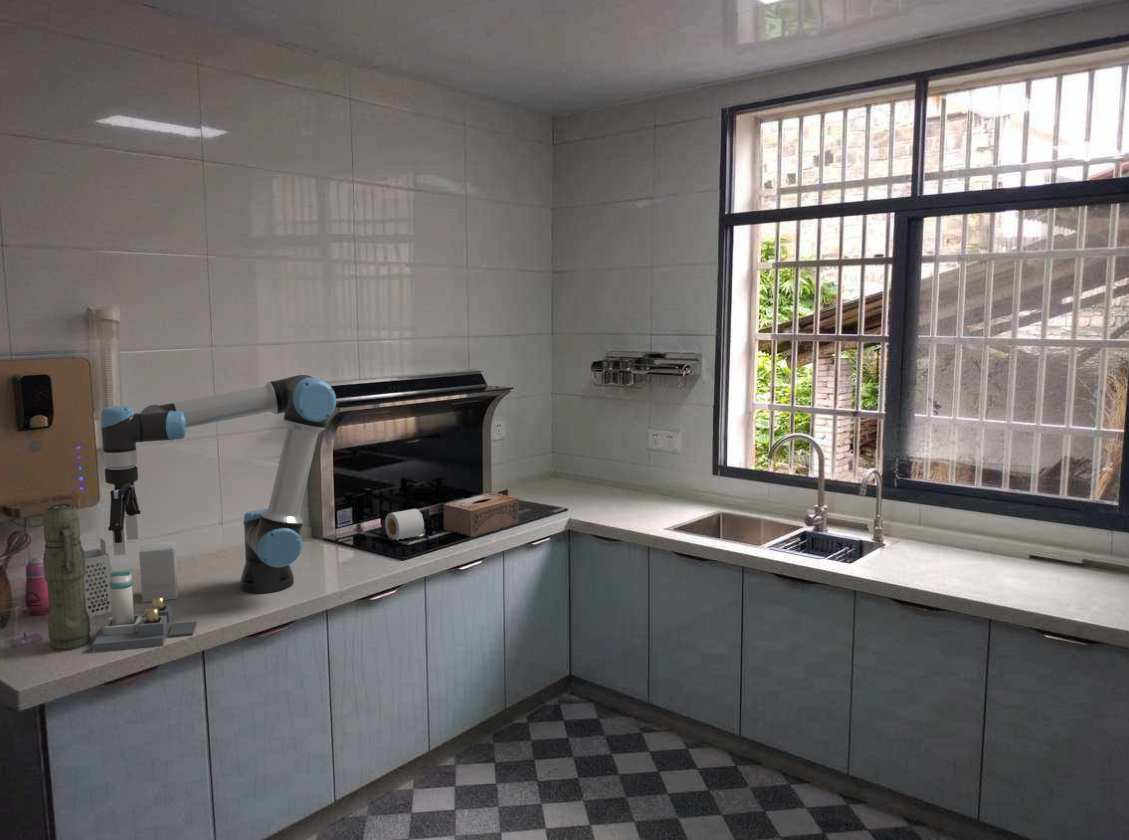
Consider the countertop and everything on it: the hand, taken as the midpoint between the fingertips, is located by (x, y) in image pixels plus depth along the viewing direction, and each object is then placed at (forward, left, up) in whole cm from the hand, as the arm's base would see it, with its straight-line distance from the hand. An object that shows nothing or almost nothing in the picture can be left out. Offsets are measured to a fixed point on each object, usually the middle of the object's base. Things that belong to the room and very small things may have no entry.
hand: (126, 546), depth 220 cm
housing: (-2, +9, -21) cm, 23 cm away
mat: (-14, +8, -21) cm, 26 cm away
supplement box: (-4, -21, -21) cm, 30 cm away
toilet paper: (-78, -63, -21) cm, 102 cm away
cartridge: (0, +8, -19) cm, 21 cm away
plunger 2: (-7, +13, -17) cm, 23 cm away
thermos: (+12, +10, -21) cm, 26 cm away
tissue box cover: (-108, -72, -22) cm, 131 cm away
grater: (+12, -14, -21) cm, 28 cm away
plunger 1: (-7, +4, -17) cm, 19 cm away
